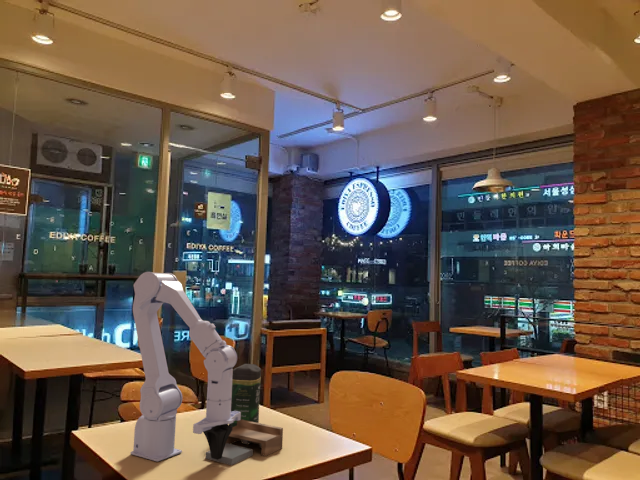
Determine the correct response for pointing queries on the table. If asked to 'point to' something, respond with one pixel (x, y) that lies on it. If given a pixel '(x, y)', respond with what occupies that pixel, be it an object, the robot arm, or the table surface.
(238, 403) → the coffee jar
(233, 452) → the slate tile
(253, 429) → the walnut shelf
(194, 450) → the table surface
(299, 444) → the table surface
